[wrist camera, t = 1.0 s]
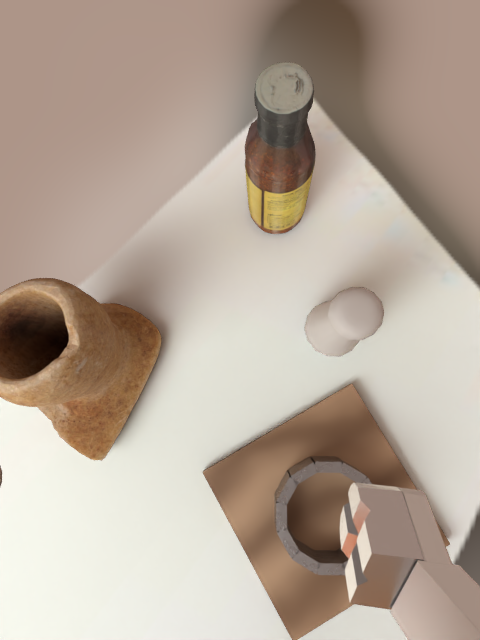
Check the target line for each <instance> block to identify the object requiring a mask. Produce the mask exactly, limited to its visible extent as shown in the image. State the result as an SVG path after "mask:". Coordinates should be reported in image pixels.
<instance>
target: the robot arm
mask: <svg viewBox="0 0 480 640" xmlns="http://www.w3.org/2000/svg"><path fill="white" fill-rule="evenodd" d="M1 483H2V470H1V467H0V486H1ZM348 496H349V503H347V504H346V505H344V506H343V509H342V513H341V518H340V541H341V549H342V551H343V552H344V553H345V555H346V556H347V557H348V559H349V560H348V563H347V566H346V568H345V576H346V582H347V588H348V595H349V601H350V603H351V604H358V605H364V606H371V607H377V608H384V609H391V611H390V613H391V614H392V616H393V617H394V619H395V620H396V622H397V623H398V625H399V626H400V628H401V629H402V631H403V632H404V634H405V636H406V637H407V639H408V640H480V586H479V585H478V584H477V583H476V582H475V581H474V580H473V579H472V578H471V577H470V576H469V575H468V574H467V573H466V572H465V571H464V570H463V569H462V568H461V567H460V566H459V565H453V564H452V562H451V560H450V557H449V554H448V552H447V549H446V547H445V544H444V541H443V539H442V536H441V533H440V531H439V528H438V525H437V523H436V520H435V518H434V515H433V512H432V510H431V507H430V504H429V502H428V499H427V497H426V494H425V493H424V492H423V491H422V490H415V489H406V488H397V487H393V486H383V485H374V484H364V483H353V484H352V485H351V486H350V489H349V492H348Z"/></svg>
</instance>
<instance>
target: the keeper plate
mask: <svg viewBox="0 0 480 640" xmlns="http://www.w3.org/2000/svg"><path fill="white" fill-rule="evenodd" d="M311 456H335V457H338V458H340V459H342V460H343V461H345V462H347V463H348V464H350V465H352V466H353V467H355V468H357V469H358V470H360V471H361V472H362V473H363V474H365V475H366V476H367V477H368V478H369V480H370V481H371V483H372V484H374V485H383V486H393V487H397V488H406V489H415V490H417V489H416V487H415V485H414V484H413V482H412V481H411V479H410V477H409V476H408V474H407V472H406V471H405V469H404V467H403V466H402V464H401V463H400V461H399V459H398V458H397V456H396V454H395V453H394V451H393V450H392V448H391V446H390V445H389V443H388V441H387V440H386V438H385V436H384V435H383V433H382V432H381V430H380V428H379V427H378V425H377V423H376V422H375V420H374V418H373V417H372V415H371V414H370V412H369V410H368V409H367V407H366V405H365V404H364V402H363V400H362V399H361V397H360V396H359V394H358V392H357V391H356V389H355V387H354V386H353V384H349V385H348V386H346V387H344V388H343V389H341V390H339V391H338V392H336V393H334V394H333V395H331V396H329V397H327V398H326V399H324V400H322V401H321V402H319V403H317V404H316V405H314V406H312V407H311V408H309V409H307V410H305V411H304V412H302V413H300V414H299V415H297V416H295V417H294V418H292V419H290V420H289V421H287V422H285V423H283V424H282V425H280V426H278V427H277V428H275V429H273V430H272V431H270V432H268V433H267V434H265V435H263V436H262V437H260V438H258V439H256V440H255V441H253V442H251V443H250V444H248V445H246V446H245V447H243V448H241V449H240V450H238V451H236V452H234V453H233V454H231V455H229V456H228V457H226V458H224V459H223V460H221V461H219V462H218V463H216V464H214V465H213V466H211V467H209V468H207V469H206V470H204V471H203V474H204V476H205V478H206V480H207V482H208V483H209V485H210V487H211V489H212V491H213V493H214V495H215V496H216V498H217V500H218V502H219V504H220V506H221V508H222V510H223V511H224V513H225V515H226V517H227V519H228V521H229V523H230V524H231V526H232V528H233V530H234V532H235V534H236V536H237V538H238V539H239V541H240V543H241V545H242V547H243V549H244V551H245V552H246V554H247V556H248V558H249V560H250V562H251V564H252V565H253V567H254V569H255V571H256V573H257V575H258V577H259V579H260V580H261V582H262V584H263V586H264V588H265V590H266V592H267V593H268V595H269V597H270V599H271V601H272V603H273V605H274V607H275V608H276V610H277V612H278V614H279V616H280V618H281V620H282V621H283V623H284V625H285V627H286V629H287V631H288V633H289V635H290V636H291V638H292V640H297V639H299V638H301V637H302V636H304V635H305V634H307V633H309V632H310V631H312V630H313V629H315V628H317V627H318V626H320V625H321V624H323V623H325V622H326V621H328V620H329V619H331V618H333V617H334V616H336V615H338V614H339V613H341V612H342V611H344V610H346V609H347V608H349V607H350V606H352V605H354V604H351V603H350V601H349V595H348V588H347V582H346V576H345V575H318V574H315V573H313V572H311V571H310V570H308V569H306V568H305V567H303V566H302V565H300V564H298V563H297V562H295V561H294V560H292V558H290V556H289V554H288V552H287V550H286V549H285V547H284V545H283V543H282V541H281V539H280V538H279V536H278V534H277V531H276V526H275V514H274V494H275V491H276V489H277V487H278V486H279V484H280V482H281V480H282V478H283V476H284V475H285V473H286V471H289V470H288V469H289V468H291V467H292V466H294V465H296V464H297V463H299V462H301V461H302V460H304V459H306V458H307V457H310V458H311ZM353 483H355V481H353V480H351V479H350V478H348V477H346V476H345V475H343V474H341V473H316V474H314V475H313V476H311V477H309V478H308V479H306V480H304V481H303V482H301V483H299V484H298V485H297V487H296V489H295V491H294V493H293V494H292V496H291V498H290V500H289V502H288V504H287V524H288V526H289V528H290V529H291V531H292V533H293V535H294V537H295V538H296V539H297V540H299V541H300V542H302V543H304V544H305V545H307V546H309V547H310V548H312V549H313V550H338V549H339V548H341V541H340V518H341V513H342V509H343V506H344V505H346V504H347V503H349V496H348V492H349V489H350V486H351V485H352V484H353ZM436 523H437V521H436ZM437 525H438V523H437ZM438 528H439V531H440V533H441V536H442V539H443V541H444V544H445V547H446V546H448V545H450V543H449V541H448V539H447V538H446V536H445V535H444V533H443V531H442V530H441V528H440V526H439V525H438Z"/></svg>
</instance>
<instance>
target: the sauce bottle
mask: <svg viewBox="0 0 480 640" xmlns="http://www.w3.org/2000/svg"><path fill="white" fill-rule="evenodd" d="M313 93H314V86H313V82H312V79H311V77H310V75H309V74H308V72H307V71H306V70H305V69H304V68H302V66H300V65H297V64H295V63H291V62H281V63H277V64H274V65H271V66H269V67H267V68H266V69H265V70H264V71H263V72H262V73H261V74H260V75H259V77H258V79H257V81H256V84H255V106H256V109H257V111H258V118H257V120H256V121H255V122H254V123H252V124H251V126H250V128H249V131H248V135H247V139H246V144H245V155H246V159H245V168H246V181H247V192H248V203H249V210H250V214H251V218H252V219H253V220H254V222H255V223H256V224H257V225H258V227H259V228H261V229H262V230H263V231H264V232H267V233H271V234H279V233H285V232H288V231H289V230H291V229H292V228H293V227H295V226H296V225H297V224H298V222H299V221H300V220H301V217H302V215H303V213H304V210H305V206H306V201H307V196H308V192H309V187H310V183H311V178H312V173H313V169H314V164H315V145H314V141H313V138H312V136H311V133H310V130H309V127H308V124H307V117H308V112H309V110H310V109H311V107H312V103H313Z"/></svg>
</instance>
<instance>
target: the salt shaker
mask: <svg viewBox="0 0 480 640" xmlns="http://www.w3.org/2000/svg"><path fill="white" fill-rule="evenodd" d="M383 316H384V310H383V306H382V302H381V300H380V299H379V298H378V297H377V296H376V295H375V294H374V292H372V291H370V290H367V289H365V288H363V287H351V288H348V289H346V290H344V291H341V292H339V293H338V294H337V295H336V297H335V298H334V299H333V301H326V302H324V303H321V304H319V305H317V306H315V307H314V308H313V310H312V311H311V312H310V313H309V315H308V316H307V320H306V324H305V332H306V336H307V340H308V342H309V343H310V344H311V345H312V347H313V348H314V349H315V351H318V352H320V353H322V354H324V355H326V356H342V355H344V354H346V353H348V352H350V351H352V349H353V348H354V347H355V346H356V344H357V343H358V342H359V341H360V340H363V339H365V338H367V337H369V336H371V335H373V334H374V333H375V332H376V331H377V329H378V328H379V327H380V326H381V324H382V321H383Z"/></svg>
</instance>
